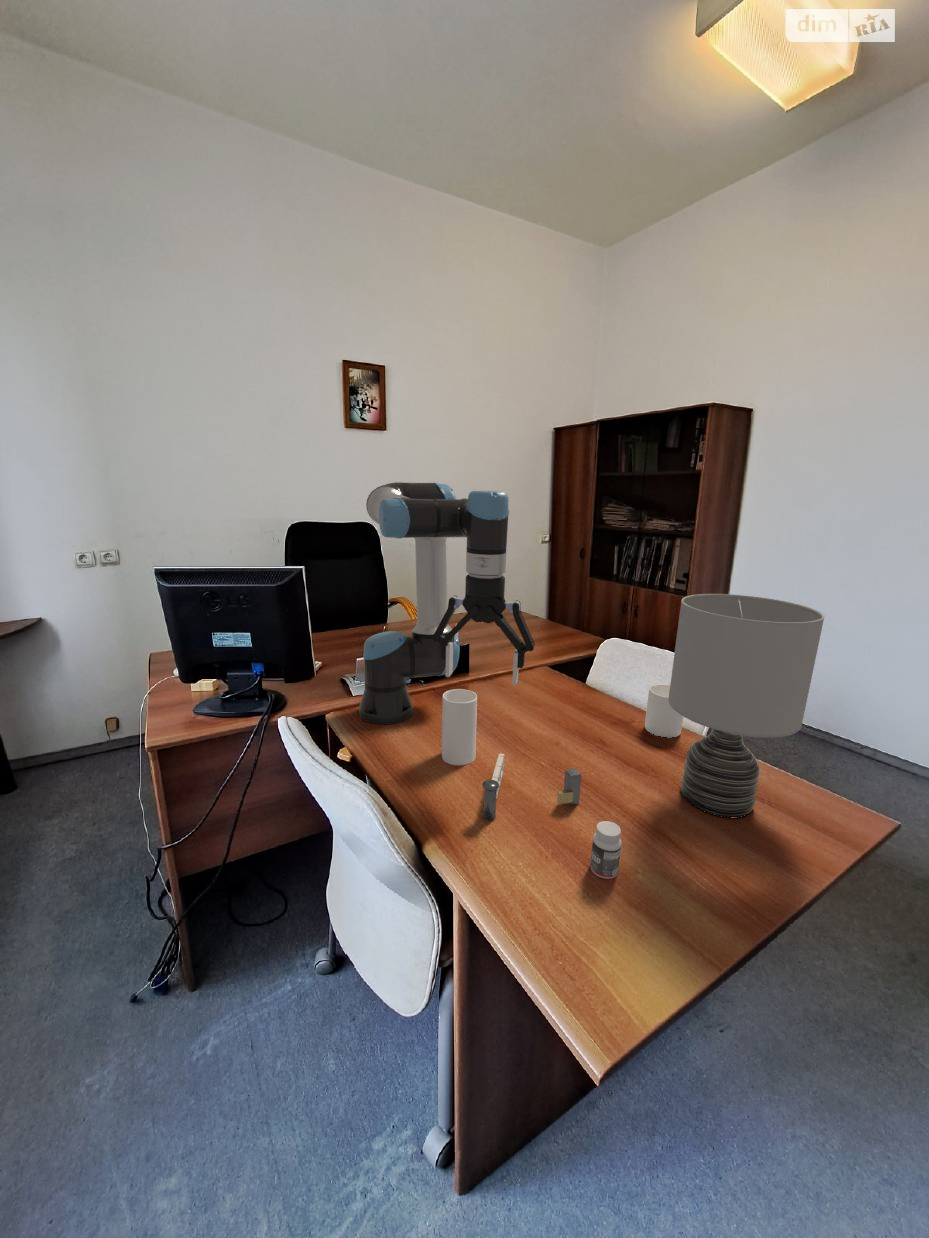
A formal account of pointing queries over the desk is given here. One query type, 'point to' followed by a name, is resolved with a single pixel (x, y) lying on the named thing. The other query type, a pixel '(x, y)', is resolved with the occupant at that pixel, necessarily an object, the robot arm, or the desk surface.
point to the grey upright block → (570, 788)
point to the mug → (662, 713)
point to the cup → (459, 726)
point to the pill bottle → (606, 850)
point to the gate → (499, 770)
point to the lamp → (739, 688)
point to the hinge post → (490, 799)
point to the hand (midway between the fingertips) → (481, 678)
